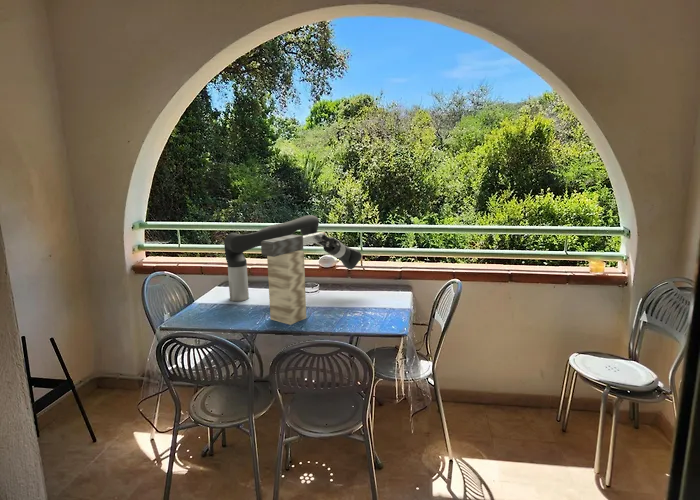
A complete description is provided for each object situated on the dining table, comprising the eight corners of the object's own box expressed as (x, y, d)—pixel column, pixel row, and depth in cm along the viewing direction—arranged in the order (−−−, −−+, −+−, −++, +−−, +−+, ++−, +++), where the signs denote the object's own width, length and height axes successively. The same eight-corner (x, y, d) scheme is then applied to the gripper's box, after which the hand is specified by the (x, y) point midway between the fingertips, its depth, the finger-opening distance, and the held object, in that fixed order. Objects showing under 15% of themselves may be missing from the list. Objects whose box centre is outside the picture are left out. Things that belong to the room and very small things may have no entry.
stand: (280, 329, 186) (276, 243, 179) (260, 323, 193) (255, 240, 186) (310, 316, 201) (308, 236, 194) (291, 311, 208) (287, 233, 201)
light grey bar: (289, 249, 192) (289, 240, 191) (283, 248, 194) (283, 239, 193) (325, 240, 211) (325, 232, 210) (319, 239, 213) (319, 232, 212)
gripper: (325, 239, 225) (306, 227, 212) (348, 242, 216) (329, 229, 204) (321, 253, 223) (301, 242, 210) (344, 256, 215) (325, 244, 202)
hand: (315, 235), depth 207 cm, fingers open, 8 cm apart
